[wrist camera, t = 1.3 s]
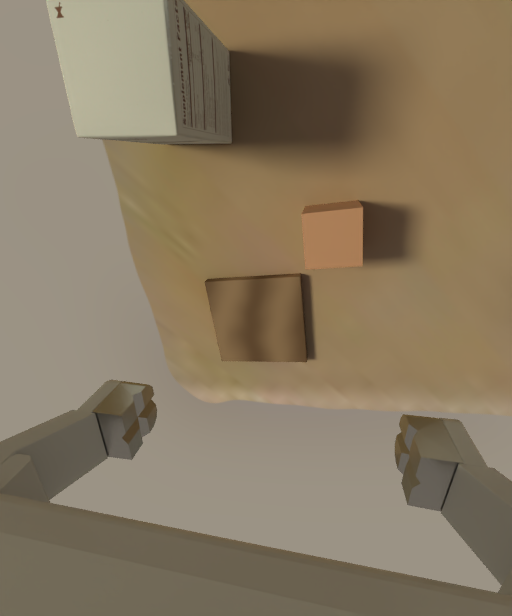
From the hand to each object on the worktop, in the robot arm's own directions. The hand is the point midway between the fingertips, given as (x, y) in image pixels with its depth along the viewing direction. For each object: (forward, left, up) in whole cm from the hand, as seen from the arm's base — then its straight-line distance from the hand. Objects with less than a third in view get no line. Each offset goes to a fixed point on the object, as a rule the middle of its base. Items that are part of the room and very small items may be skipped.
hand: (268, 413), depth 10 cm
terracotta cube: (-2, -1, -25) cm, 25 cm away
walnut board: (+7, +9, -25) cm, 27 cm away
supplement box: (+10, -14, -25) cm, 30 cm away
